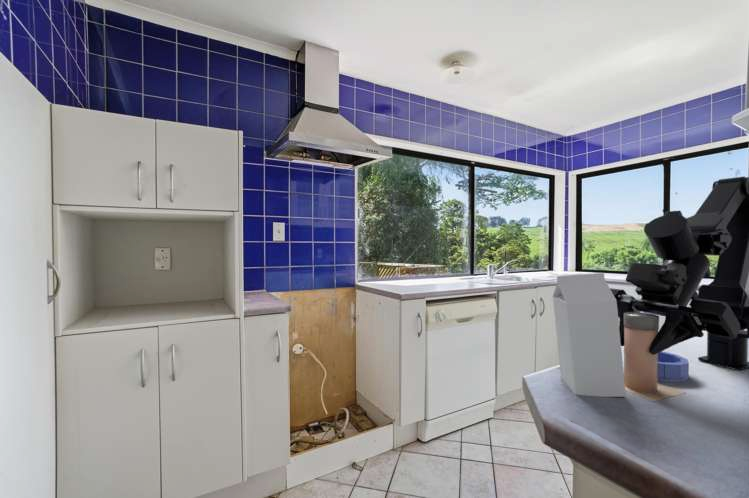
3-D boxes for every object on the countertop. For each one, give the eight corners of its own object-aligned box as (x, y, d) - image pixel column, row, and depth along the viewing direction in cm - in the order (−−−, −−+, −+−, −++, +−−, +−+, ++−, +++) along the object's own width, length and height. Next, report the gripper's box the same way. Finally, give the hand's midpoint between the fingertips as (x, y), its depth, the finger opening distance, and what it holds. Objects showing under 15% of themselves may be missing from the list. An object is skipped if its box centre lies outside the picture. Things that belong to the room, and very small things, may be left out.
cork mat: (632, 378, 62) (632, 374, 62) (685, 396, 54) (685, 392, 54) (601, 384, 59) (601, 381, 59) (653, 405, 52) (653, 401, 51)
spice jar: (634, 379, 59) (635, 311, 59) (665, 390, 55) (665, 316, 55) (616, 383, 58) (617, 313, 58) (646, 395, 54) (647, 318, 53)
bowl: (644, 363, 69) (644, 346, 69) (699, 380, 61) (699, 360, 61) (613, 369, 66) (614, 351, 66) (668, 388, 58) (668, 367, 57)
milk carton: (626, 397, 52) (614, 274, 53) (575, 398, 54) (564, 278, 54) (605, 379, 59) (594, 271, 59) (560, 380, 61) (550, 274, 61)
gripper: (602, 245, 66) (560, 306, 62) (730, 246, 49) (682, 330, 45) (629, 284, 69) (590, 344, 65) (759, 298, 52) (716, 381, 48)
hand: (635, 348), depth 56 cm, fingers closed on spice jar, 4 cm apart
